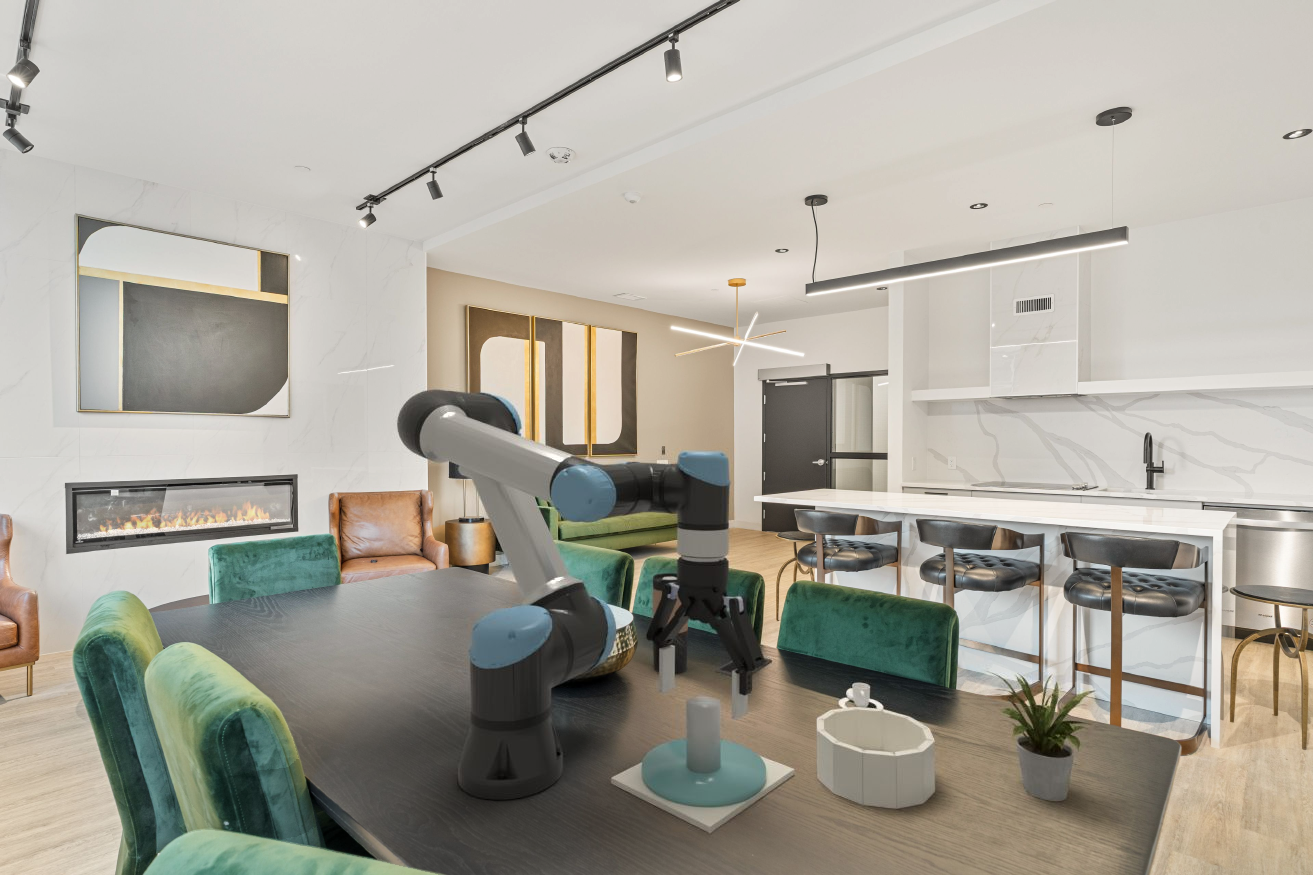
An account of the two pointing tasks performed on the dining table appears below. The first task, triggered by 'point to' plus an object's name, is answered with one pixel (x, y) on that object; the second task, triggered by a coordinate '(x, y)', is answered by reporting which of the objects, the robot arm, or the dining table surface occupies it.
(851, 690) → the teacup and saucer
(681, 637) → the travel mug
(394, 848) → the dining table surface
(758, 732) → the dining table surface
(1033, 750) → the house plant
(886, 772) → the bowl
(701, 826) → the mat
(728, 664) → the cell phone
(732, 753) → the lid
